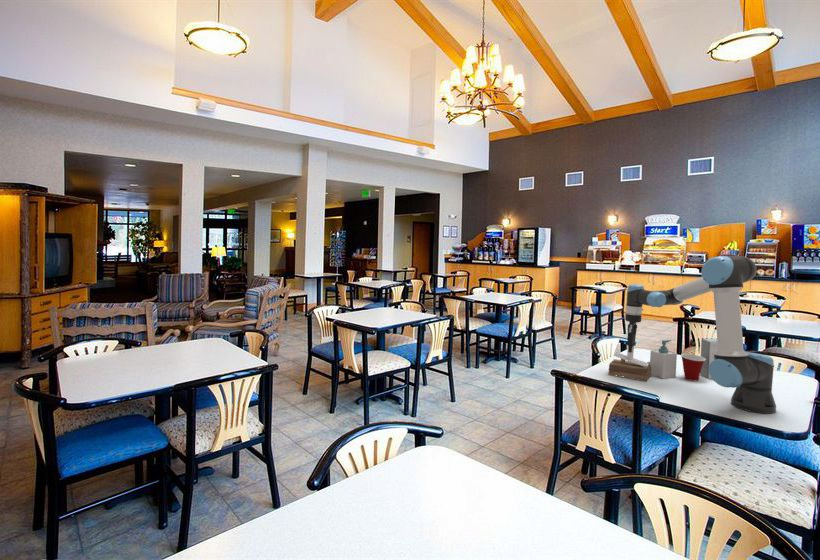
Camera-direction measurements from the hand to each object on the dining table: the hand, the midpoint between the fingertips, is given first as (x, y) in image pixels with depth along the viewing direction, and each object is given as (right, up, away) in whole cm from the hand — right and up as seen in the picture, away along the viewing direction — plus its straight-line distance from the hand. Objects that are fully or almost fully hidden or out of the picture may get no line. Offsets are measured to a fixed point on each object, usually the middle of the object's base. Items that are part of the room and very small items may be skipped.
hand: (630, 357), depth 230 cm
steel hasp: (0, -2, 0) cm, 2 cm away
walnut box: (0, -9, +1) cm, 9 cm away
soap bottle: (+17, -10, 0) cm, 20 cm away
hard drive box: (+45, -10, -3) cm, 46 cm away
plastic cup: (+29, -10, -6) cm, 31 cm away
